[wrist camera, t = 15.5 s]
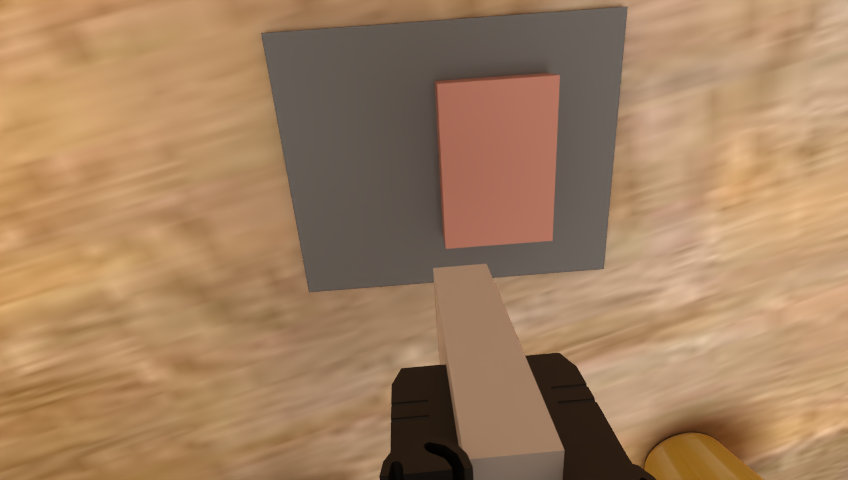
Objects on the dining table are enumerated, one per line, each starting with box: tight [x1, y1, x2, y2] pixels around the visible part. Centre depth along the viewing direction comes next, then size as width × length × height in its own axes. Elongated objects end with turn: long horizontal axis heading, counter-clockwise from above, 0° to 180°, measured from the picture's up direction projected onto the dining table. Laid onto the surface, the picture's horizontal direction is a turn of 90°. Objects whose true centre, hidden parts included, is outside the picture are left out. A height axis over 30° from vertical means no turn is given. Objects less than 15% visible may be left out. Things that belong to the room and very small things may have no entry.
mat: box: [261, 7, 627, 292], centre depth 29 cm, size 20×16×1 cm
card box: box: [435, 73, 560, 249], centre depth 27 cm, size 2×10×6 cm
